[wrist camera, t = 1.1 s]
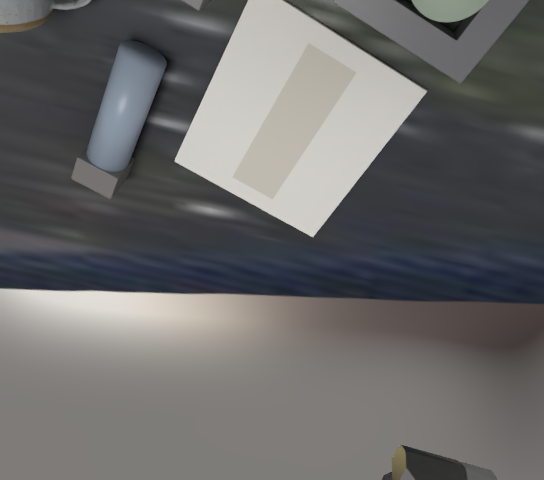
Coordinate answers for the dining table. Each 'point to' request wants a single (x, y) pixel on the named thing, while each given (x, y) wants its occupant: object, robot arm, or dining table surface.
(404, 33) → the button base
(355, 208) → the dining table surface
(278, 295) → the dining table surface
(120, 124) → the marker blue
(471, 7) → the button
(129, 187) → the dining table surface
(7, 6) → the ceramic mug
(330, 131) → the paper
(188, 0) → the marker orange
